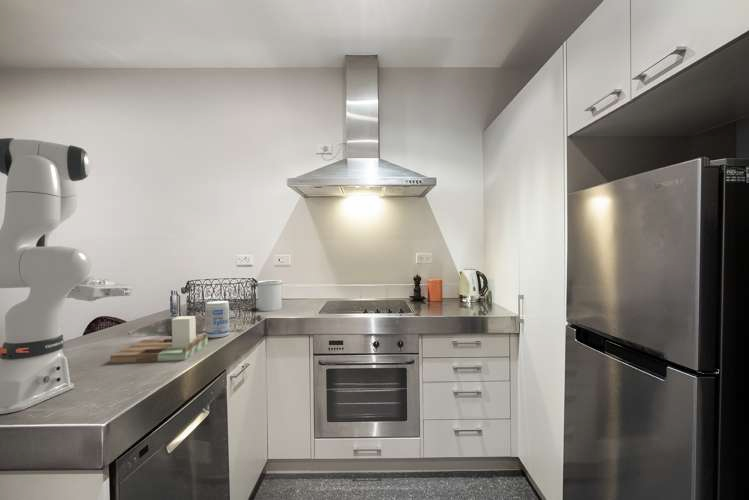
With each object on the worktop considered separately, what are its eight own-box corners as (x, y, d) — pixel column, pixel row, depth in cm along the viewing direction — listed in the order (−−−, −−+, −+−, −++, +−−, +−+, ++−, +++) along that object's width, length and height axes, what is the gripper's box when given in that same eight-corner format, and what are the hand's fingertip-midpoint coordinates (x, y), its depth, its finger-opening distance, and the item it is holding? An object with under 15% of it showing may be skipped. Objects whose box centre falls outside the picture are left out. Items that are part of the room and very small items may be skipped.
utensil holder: (278, 311, 221) (278, 282, 221) (254, 311, 221) (253, 282, 221) (285, 307, 236) (284, 279, 236) (262, 307, 236) (261, 280, 236)
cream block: (189, 346, 134) (189, 318, 134) (172, 347, 133) (171, 319, 133) (195, 342, 140) (195, 315, 140) (179, 342, 139) (178, 316, 139)
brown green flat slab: (185, 359, 126) (185, 348, 126) (110, 363, 124) (110, 351, 123) (207, 343, 148) (207, 333, 148) (144, 346, 145) (143, 335, 145)
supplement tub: (215, 339, 154) (214, 304, 154) (200, 337, 159) (200, 302, 159) (234, 334, 163) (233, 301, 163) (220, 332, 167) (219, 299, 167)
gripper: (66, 279, 123) (106, 284, 122) (111, 279, 143) (146, 284, 142) (62, 298, 122) (103, 303, 122) (108, 296, 142) (143, 300, 142)
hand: (126, 293), depth 132 cm, fingers closed
